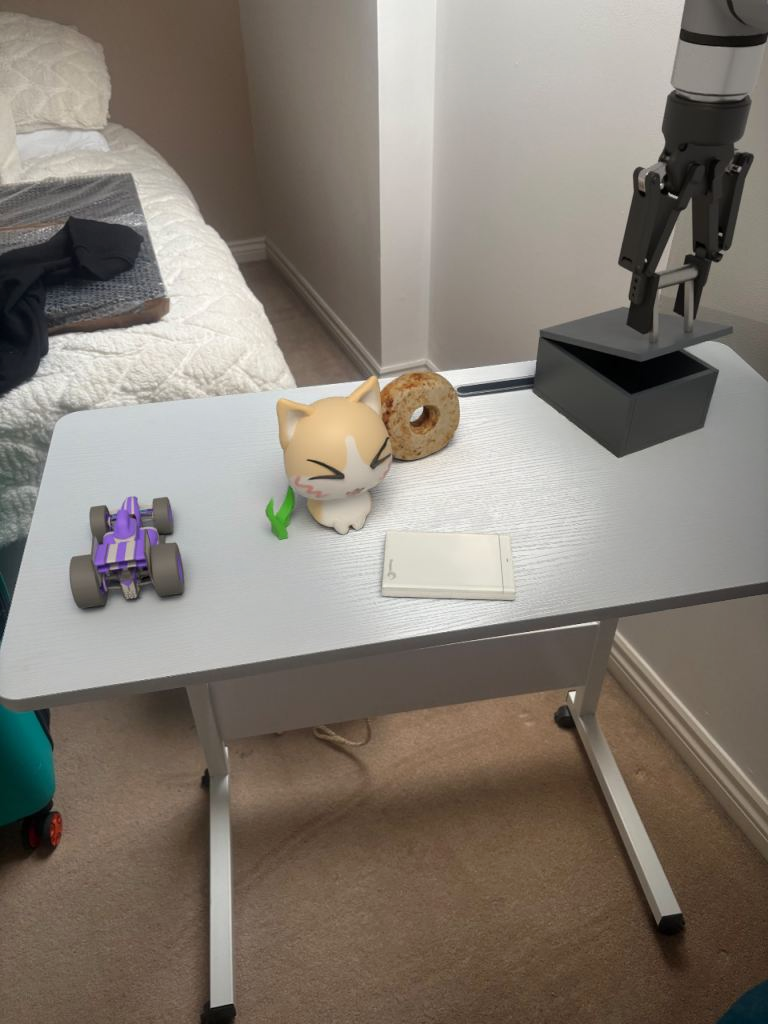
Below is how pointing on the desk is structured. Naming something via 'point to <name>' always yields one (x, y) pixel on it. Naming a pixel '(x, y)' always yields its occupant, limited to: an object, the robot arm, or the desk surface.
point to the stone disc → (432, 423)
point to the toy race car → (127, 553)
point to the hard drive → (448, 565)
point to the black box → (625, 393)
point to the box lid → (664, 330)
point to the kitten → (333, 457)
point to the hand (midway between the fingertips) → (661, 321)
